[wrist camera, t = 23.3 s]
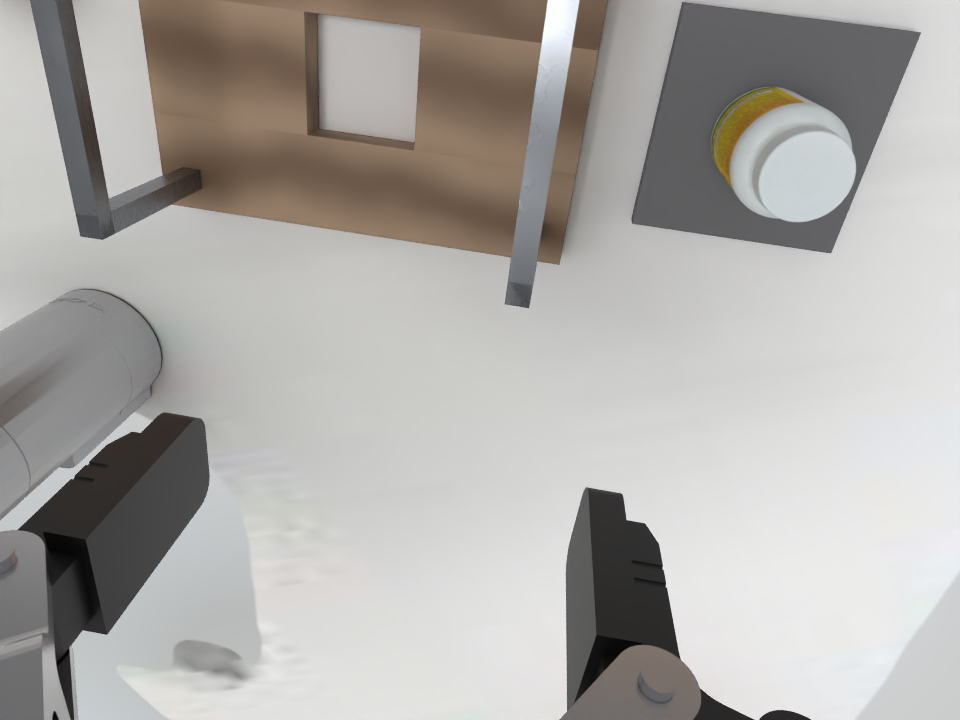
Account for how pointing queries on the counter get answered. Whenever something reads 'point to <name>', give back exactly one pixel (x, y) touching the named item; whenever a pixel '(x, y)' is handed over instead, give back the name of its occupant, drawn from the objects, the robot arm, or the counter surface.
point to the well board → (357, 158)
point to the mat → (742, 68)
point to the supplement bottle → (783, 154)
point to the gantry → (140, 202)
